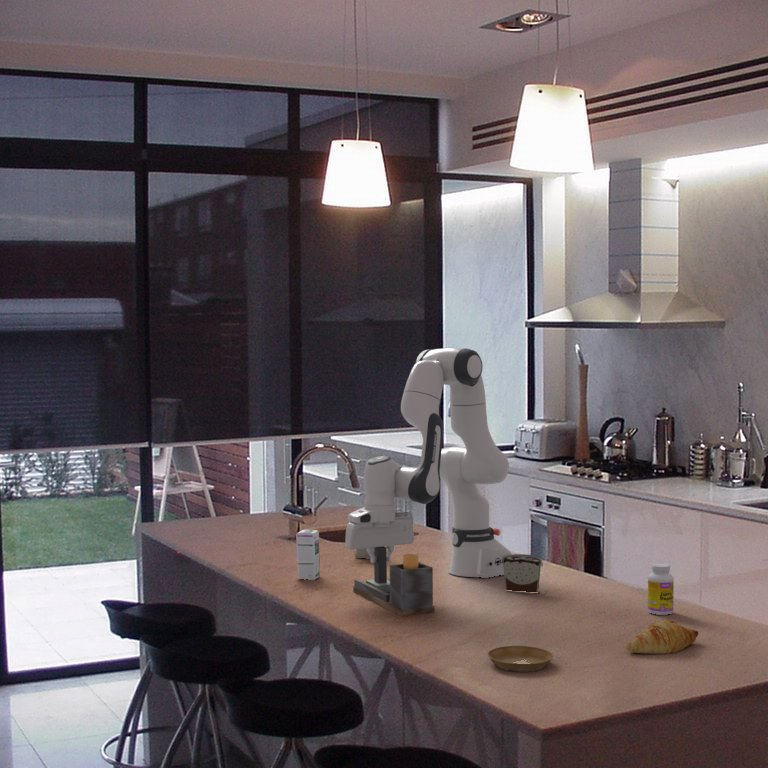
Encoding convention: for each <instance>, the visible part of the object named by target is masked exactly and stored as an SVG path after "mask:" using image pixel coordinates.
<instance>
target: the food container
mask: <svg viewBox="0 0 768 768" xmlns="http://www.w3.org/2000/svg"><path fill="white" fill-rule="evenodd" d="M502 563H503V567H504V575H503V577H504V585H505V591H506V590H512V591H526V592H538V593H539V589H540V588H539V586H540V576H541V567H544V565H543V564H544V563H543V560H542V557H540V556H538V555H534V554H525V553H521V554H520V553H519V554H518V553H517V554H512V555H506V556H503V558H502V561H501V564H502Z"/></svg>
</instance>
